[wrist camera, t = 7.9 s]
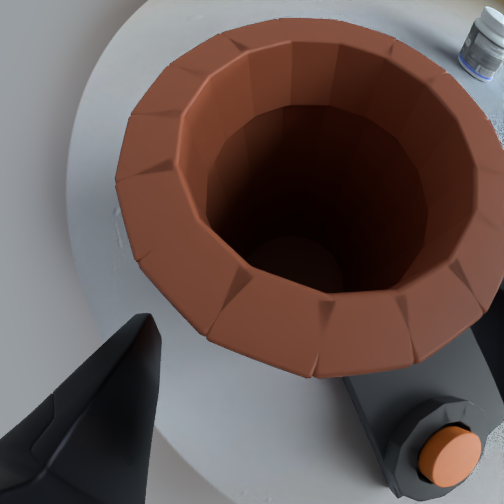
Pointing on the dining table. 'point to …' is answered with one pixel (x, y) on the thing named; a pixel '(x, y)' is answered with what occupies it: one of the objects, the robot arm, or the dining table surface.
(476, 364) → the scale
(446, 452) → the button
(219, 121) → the jar
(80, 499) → the robot arm
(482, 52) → the pill bottle
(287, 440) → the dining table surface
